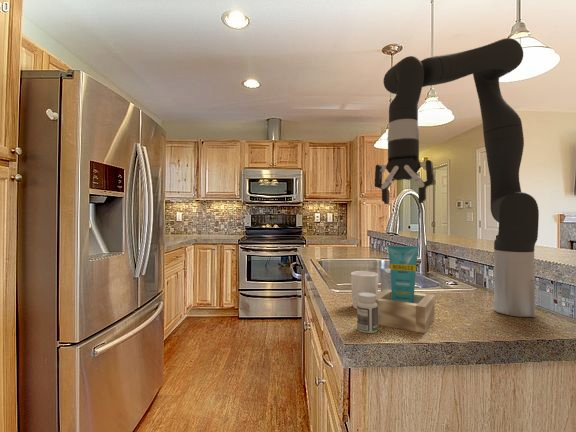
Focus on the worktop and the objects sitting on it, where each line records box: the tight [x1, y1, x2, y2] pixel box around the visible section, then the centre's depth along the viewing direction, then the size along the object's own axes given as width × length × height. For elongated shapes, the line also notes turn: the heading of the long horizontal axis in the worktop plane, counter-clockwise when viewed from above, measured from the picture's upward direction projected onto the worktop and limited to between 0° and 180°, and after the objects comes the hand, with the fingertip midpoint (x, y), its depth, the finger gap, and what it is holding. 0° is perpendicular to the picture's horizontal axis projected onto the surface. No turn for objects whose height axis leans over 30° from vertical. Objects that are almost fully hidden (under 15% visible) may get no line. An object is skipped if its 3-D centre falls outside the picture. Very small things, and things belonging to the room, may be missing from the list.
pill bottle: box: [356, 293, 379, 334], centre depth 77 cm, size 5×5×8 cm
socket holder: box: [375, 289, 436, 334], centre depth 84 cm, size 13×13×6 cm
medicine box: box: [380, 268, 391, 292], centre depth 110 cm, size 8×4×9 cm, turn 179°
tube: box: [387, 245, 420, 303], centre depth 84 cm, size 7×5×19 cm, turn 73°
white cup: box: [350, 270, 379, 310], centre depth 96 cm, size 8×8×10 cm
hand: (403, 203), depth 84 cm, fingers open, 8 cm apart
